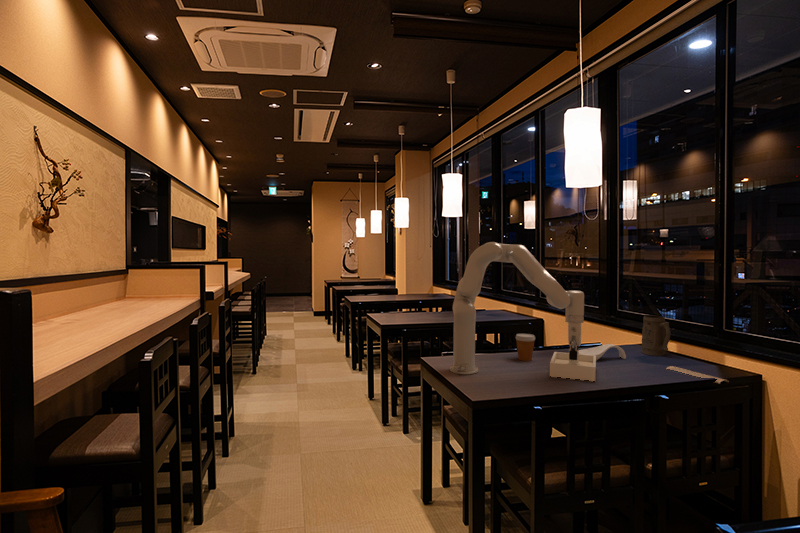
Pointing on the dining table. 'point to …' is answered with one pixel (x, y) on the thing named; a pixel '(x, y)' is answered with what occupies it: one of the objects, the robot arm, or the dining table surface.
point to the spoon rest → (602, 351)
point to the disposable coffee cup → (525, 346)
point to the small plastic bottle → (574, 362)
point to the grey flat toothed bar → (695, 374)
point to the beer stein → (655, 335)
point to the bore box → (573, 367)
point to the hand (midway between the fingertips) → (573, 357)
